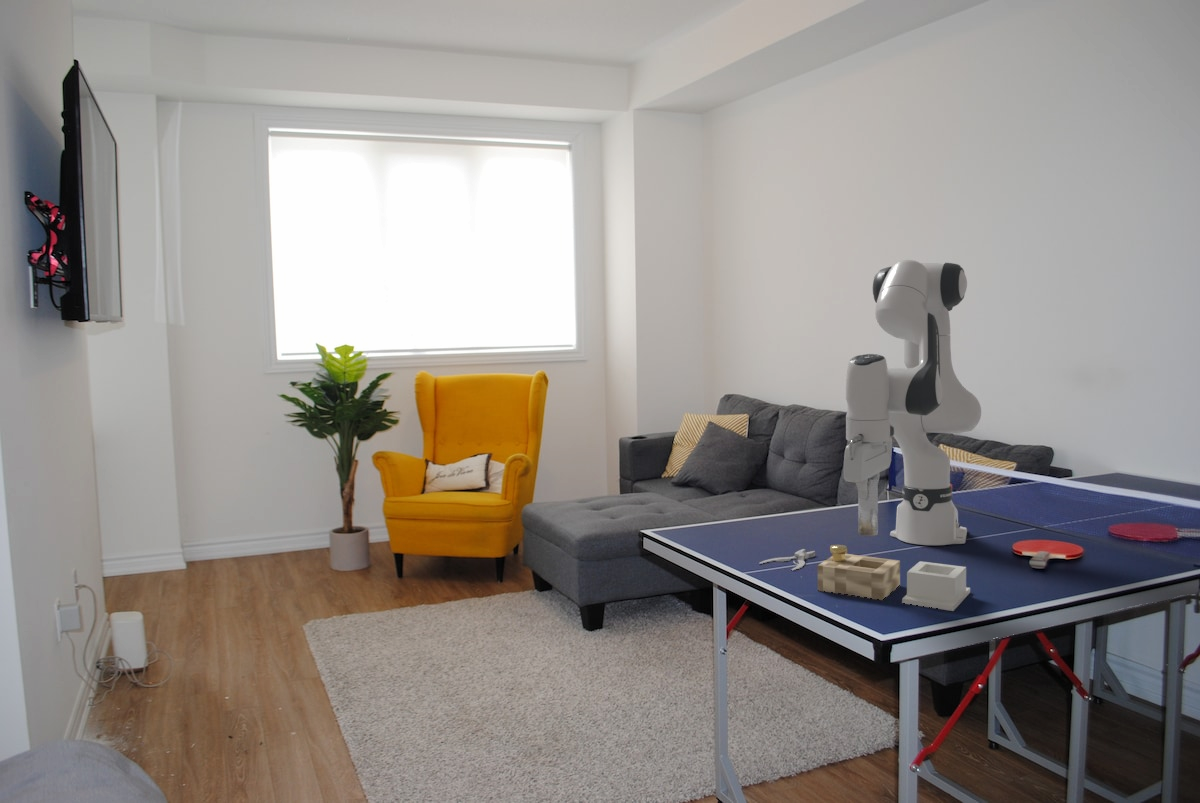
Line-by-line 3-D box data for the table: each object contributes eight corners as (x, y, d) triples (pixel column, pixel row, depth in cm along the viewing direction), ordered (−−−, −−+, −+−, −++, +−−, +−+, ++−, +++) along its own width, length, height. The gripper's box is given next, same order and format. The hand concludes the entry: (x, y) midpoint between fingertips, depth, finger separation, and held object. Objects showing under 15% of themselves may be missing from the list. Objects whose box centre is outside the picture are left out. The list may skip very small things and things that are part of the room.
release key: (833, 580, 201) (833, 543, 200) (849, 582, 199) (849, 545, 198) (827, 584, 198) (827, 547, 197) (843, 586, 196) (843, 549, 195)
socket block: (837, 576, 205) (837, 552, 204) (900, 585, 197) (900, 560, 196) (817, 590, 195) (817, 565, 195) (882, 600, 187) (882, 574, 187)
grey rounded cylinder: (862, 530, 197) (861, 475, 196) (880, 532, 194) (880, 477, 193) (855, 534, 194) (855, 479, 192) (874, 536, 191) (874, 480, 190)
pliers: (757, 559, 217) (792, 546, 228) (758, 565, 217) (792, 552, 228) (793, 566, 210) (827, 553, 221) (793, 573, 210) (827, 559, 221)
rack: (921, 585, 196) (921, 558, 196) (970, 592, 191) (970, 564, 190) (902, 603, 185) (902, 574, 184) (953, 611, 179) (953, 581, 179)
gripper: (865, 439, 182) (866, 507, 183) (897, 426, 198) (897, 488, 200) (835, 437, 185) (836, 504, 187) (868, 425, 202) (868, 486, 203)
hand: (868, 496), depth 193 cm, fingers closed on grey rounded cylinder, 4 cm apart
